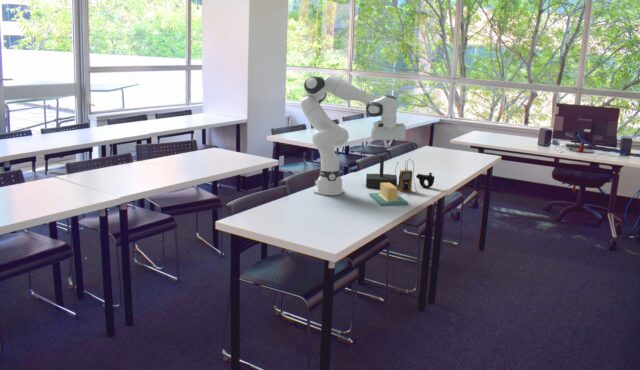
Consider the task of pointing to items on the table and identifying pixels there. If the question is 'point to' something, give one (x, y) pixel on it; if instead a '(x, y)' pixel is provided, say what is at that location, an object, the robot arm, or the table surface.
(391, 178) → the black block with post
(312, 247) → the table surface
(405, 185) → the multimeter
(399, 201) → the board
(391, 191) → the block
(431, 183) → the controller
